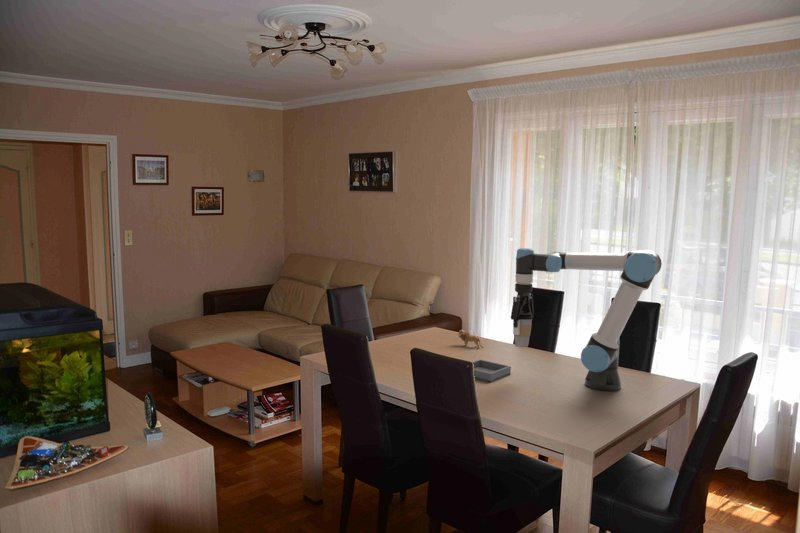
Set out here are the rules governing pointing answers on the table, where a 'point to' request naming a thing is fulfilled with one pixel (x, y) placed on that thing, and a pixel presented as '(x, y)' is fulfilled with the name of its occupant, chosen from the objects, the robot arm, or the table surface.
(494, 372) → the bin
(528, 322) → the coffee cup
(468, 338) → the lion figurine
